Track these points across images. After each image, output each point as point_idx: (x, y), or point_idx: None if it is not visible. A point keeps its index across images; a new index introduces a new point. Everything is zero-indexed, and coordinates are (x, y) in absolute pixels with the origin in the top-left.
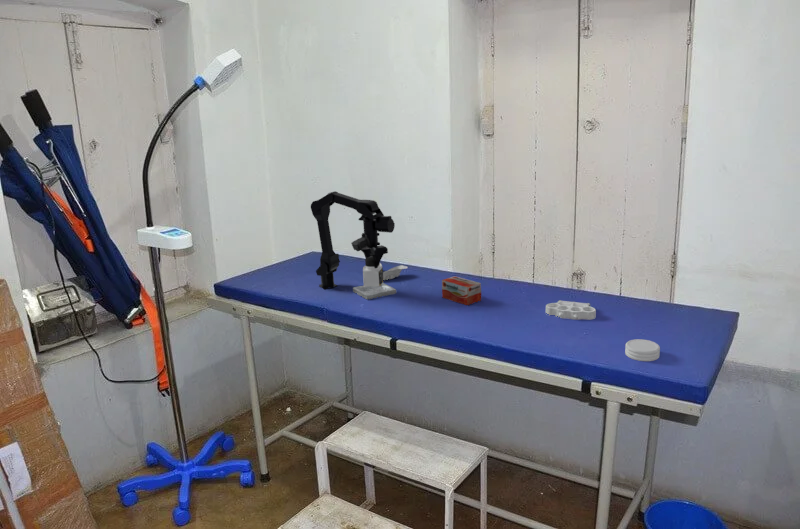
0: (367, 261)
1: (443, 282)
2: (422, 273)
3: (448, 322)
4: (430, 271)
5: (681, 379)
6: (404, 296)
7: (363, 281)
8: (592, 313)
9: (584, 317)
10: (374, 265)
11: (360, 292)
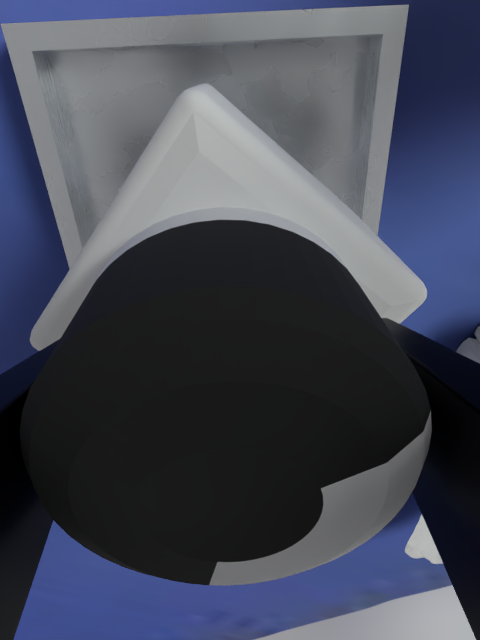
0: (129, 296)
1: None
2: (379, 558)
3: None
4: (377, 586)
5: None
6: (8, 356)
7: (205, 84)
8: None
9: None
10: (36, 363)
11: (185, 15)
